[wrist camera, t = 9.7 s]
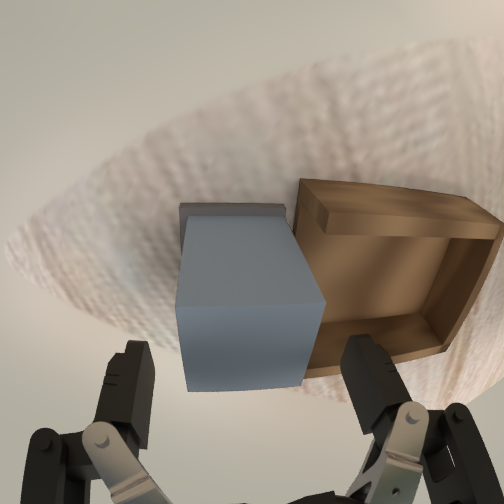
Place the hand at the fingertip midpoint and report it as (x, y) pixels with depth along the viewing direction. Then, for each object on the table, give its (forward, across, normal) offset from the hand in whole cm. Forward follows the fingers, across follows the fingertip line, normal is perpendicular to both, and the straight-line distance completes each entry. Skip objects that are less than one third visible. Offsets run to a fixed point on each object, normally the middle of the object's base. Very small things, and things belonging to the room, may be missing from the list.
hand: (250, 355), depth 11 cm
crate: (+8, -10, +1) cm, 12 cm away
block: (+7, 0, 0) cm, 7 cm away
